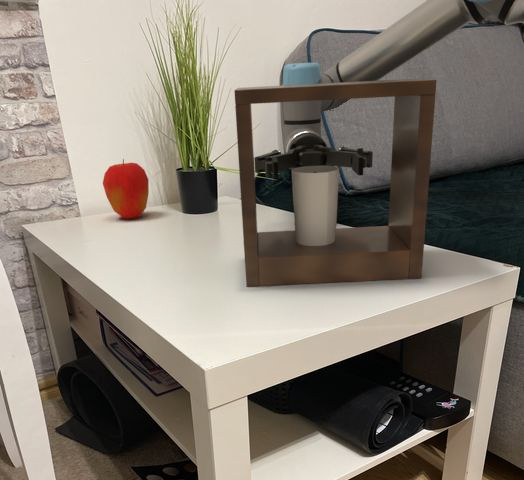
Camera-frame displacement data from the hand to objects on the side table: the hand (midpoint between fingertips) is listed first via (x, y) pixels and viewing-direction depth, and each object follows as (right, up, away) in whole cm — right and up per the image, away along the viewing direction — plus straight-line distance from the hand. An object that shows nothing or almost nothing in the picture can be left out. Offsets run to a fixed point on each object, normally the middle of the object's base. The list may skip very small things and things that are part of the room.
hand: (318, 168), depth 91 cm
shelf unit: (+1, -17, -7) cm, 18 cm away
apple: (-37, -1, +31) cm, 48 cm away
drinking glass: (-1, -13, -8) cm, 15 cm away
